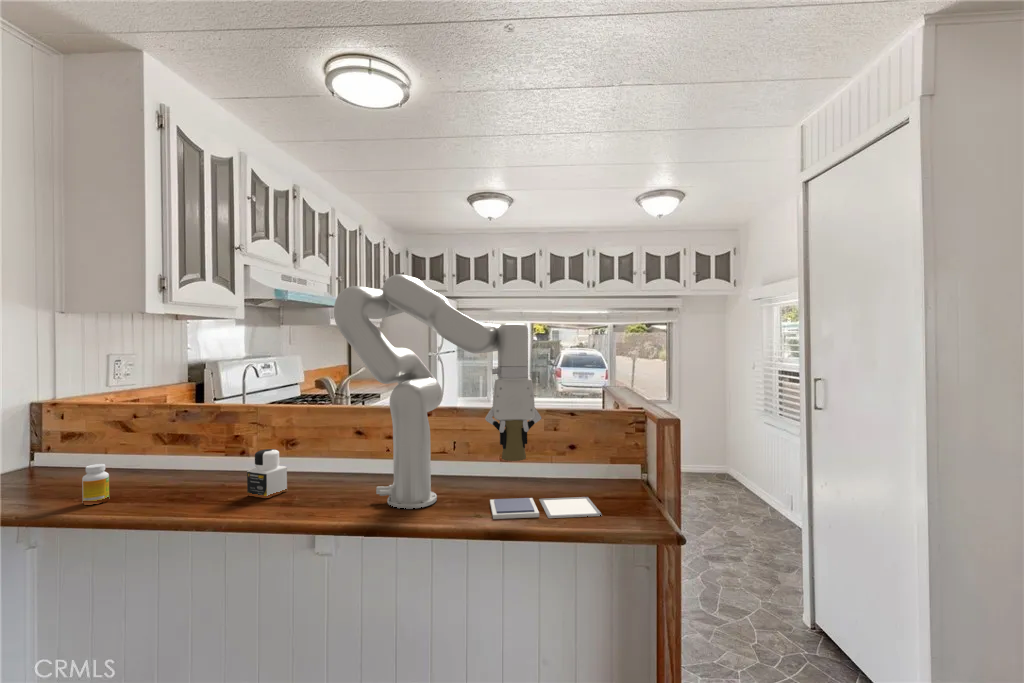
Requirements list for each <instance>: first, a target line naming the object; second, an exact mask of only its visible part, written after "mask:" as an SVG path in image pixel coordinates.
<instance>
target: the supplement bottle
mask: <svg viewBox="0 0 1024 683" xmlns="http://www.w3.org/2000/svg"><path fill="white" fill-rule="evenodd" d="M105 470H106V464H105V463H95V464H90V465H87V466H85V473H86V474H85V475H83V476H82V481H81V482H82V483H81V484H82V485H81V486H82V488H81V490H82V493H81V494H82V502H83V501H97V500H102V499H105V498H107V497H109V498H110V474H109V473H108V472H107V471H105Z"/></svg>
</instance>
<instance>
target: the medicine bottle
mask: <svg viewBox="0 0 1024 683" xmlns="http://www.w3.org/2000/svg"><path fill="white" fill-rule="evenodd" d="M287 468H288V467H287V466H284V465H280V451H279V450H278V449H274V448H268V449H267V448H265V449H261V450H258V451H257V452H255V453H254V468H251V469H248V470H247V471H246V474H247V475H246V477H247V478H246V479H247V480H246V484H247V486H246V487H247V488H246V490H247V493H252V494H258V495H264V496H268V495H270V494H273V493H276V492H280V491H282V490H285V489H287V490H288V474H287V473H288V470H287Z"/></svg>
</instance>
